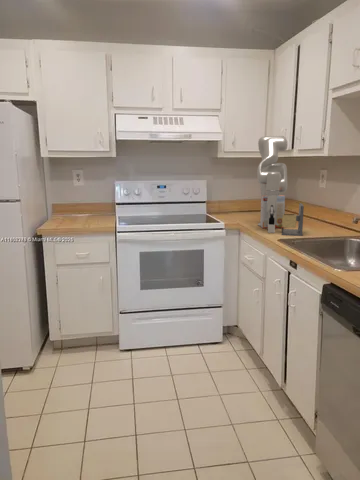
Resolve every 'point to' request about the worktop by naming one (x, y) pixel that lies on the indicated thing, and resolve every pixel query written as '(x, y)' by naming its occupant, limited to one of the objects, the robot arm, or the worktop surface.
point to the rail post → (271, 227)
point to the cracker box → (278, 214)
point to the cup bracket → (293, 222)
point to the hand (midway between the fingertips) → (271, 223)
